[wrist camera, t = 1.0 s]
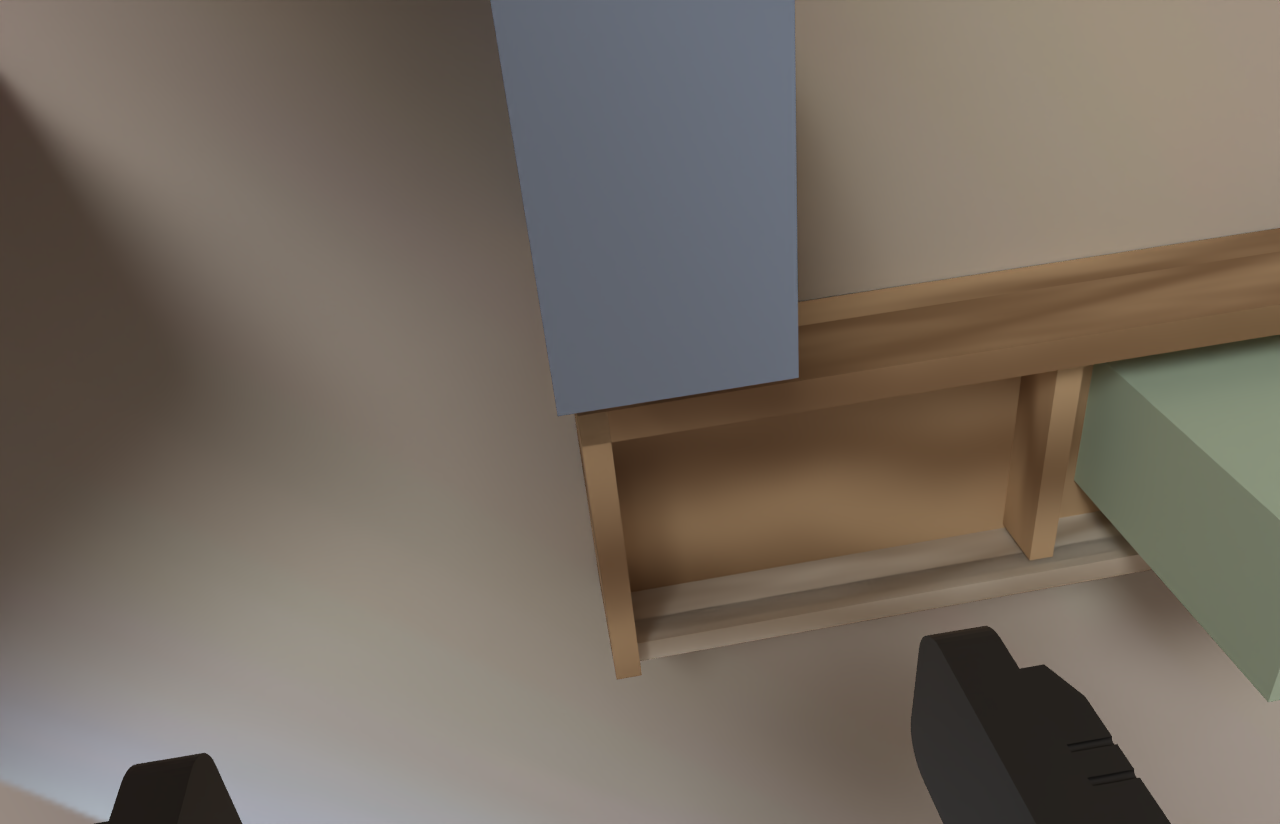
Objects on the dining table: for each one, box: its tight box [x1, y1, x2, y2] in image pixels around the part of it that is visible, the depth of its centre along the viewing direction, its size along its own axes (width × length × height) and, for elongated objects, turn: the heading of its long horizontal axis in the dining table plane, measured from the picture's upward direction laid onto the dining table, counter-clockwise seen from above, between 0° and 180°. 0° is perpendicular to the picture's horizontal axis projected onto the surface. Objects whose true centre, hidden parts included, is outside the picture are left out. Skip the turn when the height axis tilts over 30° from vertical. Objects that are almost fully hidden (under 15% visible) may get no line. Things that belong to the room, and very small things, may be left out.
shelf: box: [575, 228, 1280, 679], centre depth 33 cm, size 10×28×4 cm, turn 95°
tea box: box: [490, 0, 799, 416], centre depth 23 cm, size 5×9×10 cm, turn 5°
